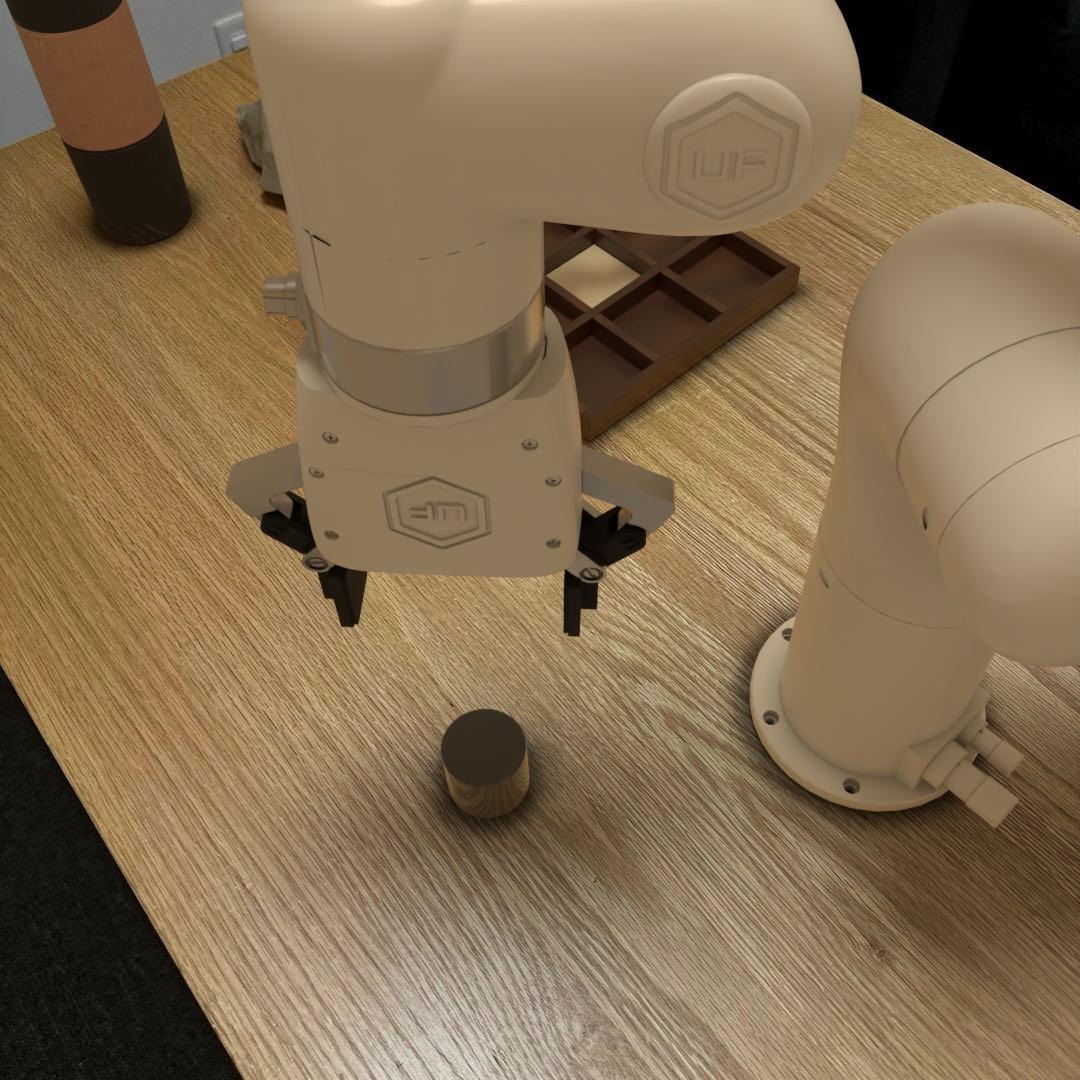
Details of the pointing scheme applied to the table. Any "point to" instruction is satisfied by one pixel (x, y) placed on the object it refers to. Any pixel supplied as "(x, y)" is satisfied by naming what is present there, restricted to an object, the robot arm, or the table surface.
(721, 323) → the board
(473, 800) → the dark cylinder
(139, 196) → the travel mug
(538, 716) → the table surface
